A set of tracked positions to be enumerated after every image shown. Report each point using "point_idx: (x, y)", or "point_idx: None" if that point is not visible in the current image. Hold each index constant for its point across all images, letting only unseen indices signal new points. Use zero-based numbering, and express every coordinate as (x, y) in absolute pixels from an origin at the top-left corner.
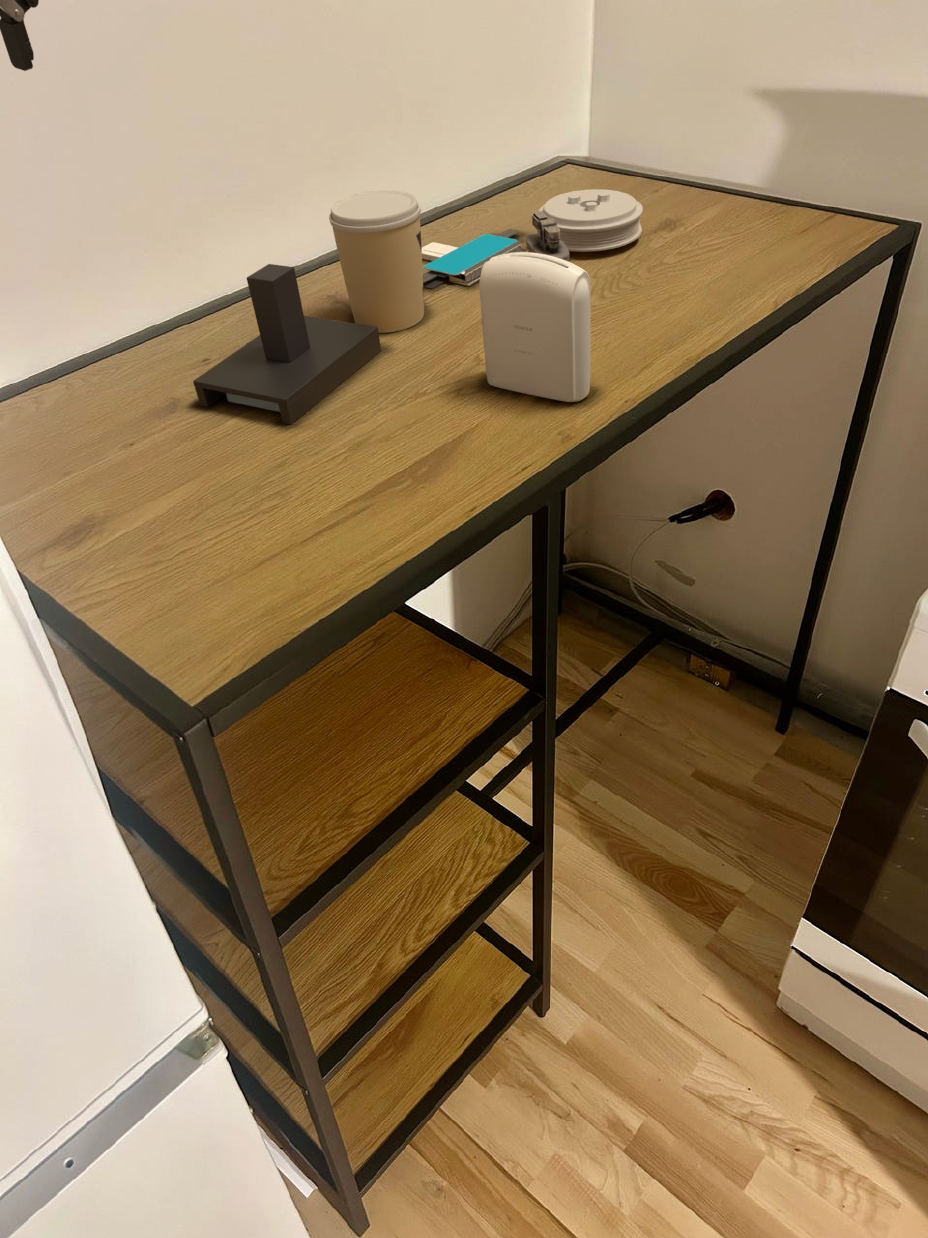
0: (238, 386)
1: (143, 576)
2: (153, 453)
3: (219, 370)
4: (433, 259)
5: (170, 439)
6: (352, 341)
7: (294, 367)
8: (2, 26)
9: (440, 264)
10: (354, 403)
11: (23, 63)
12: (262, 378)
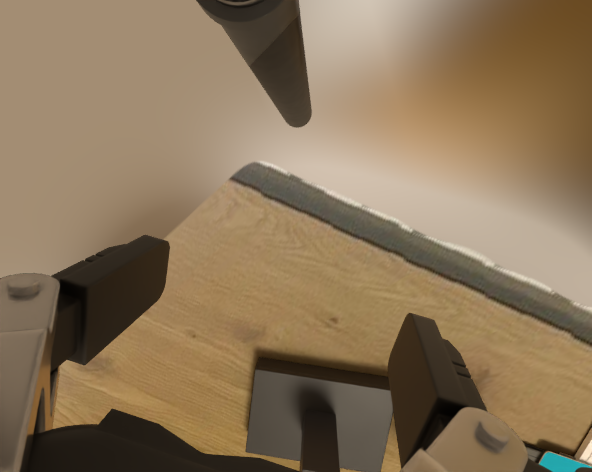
0: (255, 409)
1: (75, 424)
2: (188, 358)
3: (276, 382)
4: (584, 442)
5: (208, 360)
6: (348, 464)
7: (295, 438)
8: (422, 402)
9: (553, 466)
10: (289, 465)
11: (389, 370)
12: (272, 422)
